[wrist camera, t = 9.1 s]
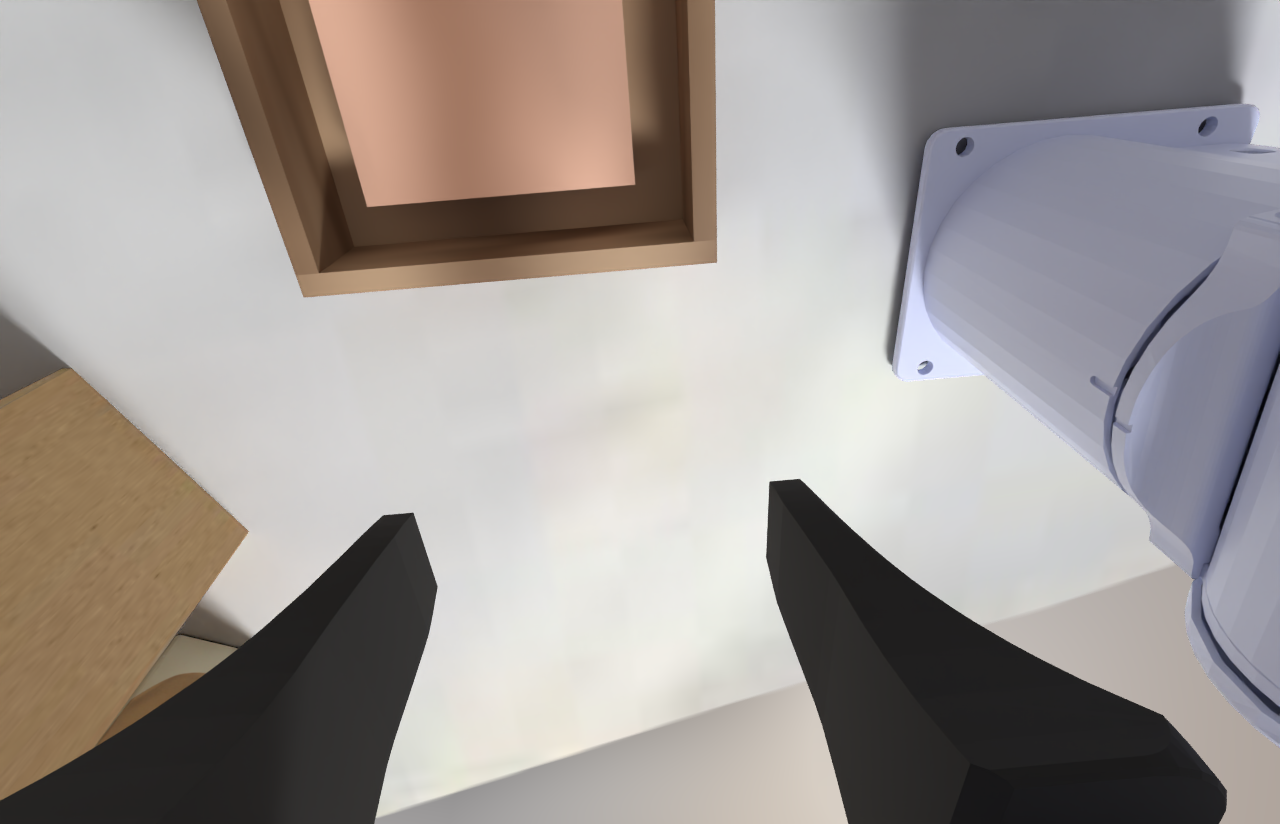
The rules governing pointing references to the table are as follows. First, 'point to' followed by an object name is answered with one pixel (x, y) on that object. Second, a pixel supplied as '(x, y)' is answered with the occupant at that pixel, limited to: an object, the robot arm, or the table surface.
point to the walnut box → (476, 135)
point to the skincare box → (169, 678)
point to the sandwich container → (89, 568)
